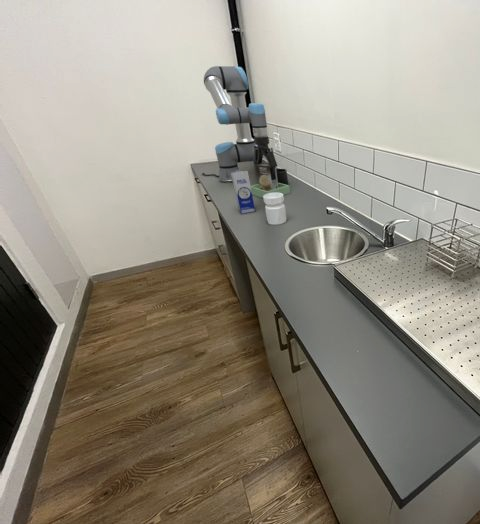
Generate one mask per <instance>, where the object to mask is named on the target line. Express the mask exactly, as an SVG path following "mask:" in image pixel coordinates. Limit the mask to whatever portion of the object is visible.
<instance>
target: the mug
mask: <svg viewBox="0 0 480 524" xmlns="http://www.w3.org/2000/svg"><path fill="white" fill-rule="evenodd" d="M276 172H277V179H278V183H281V184H285V185H289V179H288V171H287V169H286V168H276Z"/></svg>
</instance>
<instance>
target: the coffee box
mask: <svg viewBox="0 0 480 524" xmlns="http://www.w3.org/2000/svg"><path fill="white" fill-rule="evenodd" d="M255 166H256V167H255V168H256V173H257V179H258V184H259V185H260V189H261V190H264V191H270V190H274V189H277V188H279V187H278V179H277V172H276V169H277V167H275V172H276V179H275V180H271V174H270V165H269V163H268V162H267V163H266V162H262V163H261V164H258V165H257V164H256V165H255Z"/></svg>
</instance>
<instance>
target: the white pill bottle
mask: <svg viewBox="0 0 480 524" xmlns="http://www.w3.org/2000/svg"><path fill="white" fill-rule="evenodd" d="M284 197H285V195H283V194H282V193H268V194H265V195H264V196H263V198H262V199H263V203H264V204H265V206H264V209H265V216H266V220H267V224H269V225H272V226H277V225H283V224H284V223H286V222H287V212H286V205H285V204H284V202H285V200H284V199H285V198H284Z"/></svg>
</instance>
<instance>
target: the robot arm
mask: <svg viewBox="0 0 480 524" xmlns="http://www.w3.org/2000/svg"><path fill="white" fill-rule="evenodd" d="M203 85H204V87H205V89H206V91H208V92H209V94H210V96H211V98H212V100H213V102H214V105H215V106H216V107H215V108H216V109H215V116H216V119H217V123H218V124H219V125H227V126H228V125H235V130H236V135H237V138H236V139H235V143H234V142H233V141H226V142H222V143H221V142H220V143H218V144H215V147H214V150H215V156H216V158H217V163H218V168H219V172H218V175H217V174H214V173H212V174H211V173H210V174H206V173H205V172H202V175H204V176H206V177H210V176H212V177H213V176H215V177H216V178H218V181H219V182H220V183H233V180H232V176H231V173H235V170H240V168H239V165H238V163H247V162H248V163H249V162H254V164H256V165H258V164H261V163H263V158H264V157H265V159H266V161H267V163H268V164H269V165H270V174H271V180H275V179H276V172H275V167H276V168H277V167H278V163H277V159H276V158H275V154H274V149H273V147H269V144H270V137H269V130H268V123H267V117H266V110H265V105H264V103H262V102H261V103H260V102H256V103H255V102H254V103H252V102H251V103H249V104H248V107H247V102H246V94H247V91H248V90H249V81H248V77H247V74H246V72H245V69H243V67H242V66H235V65H234V66H231V65H229V66H227V65H226V66H225V65H224V66H223V65H222V66H221V65H215V66H211V67H209V68H208V69H207V70H206V72H205V73H204V76H203ZM228 96H229V98H230V99H229V98H228ZM250 124H251V127H252V133H253V136H254V137H252V133H251V127H250Z"/></svg>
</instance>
